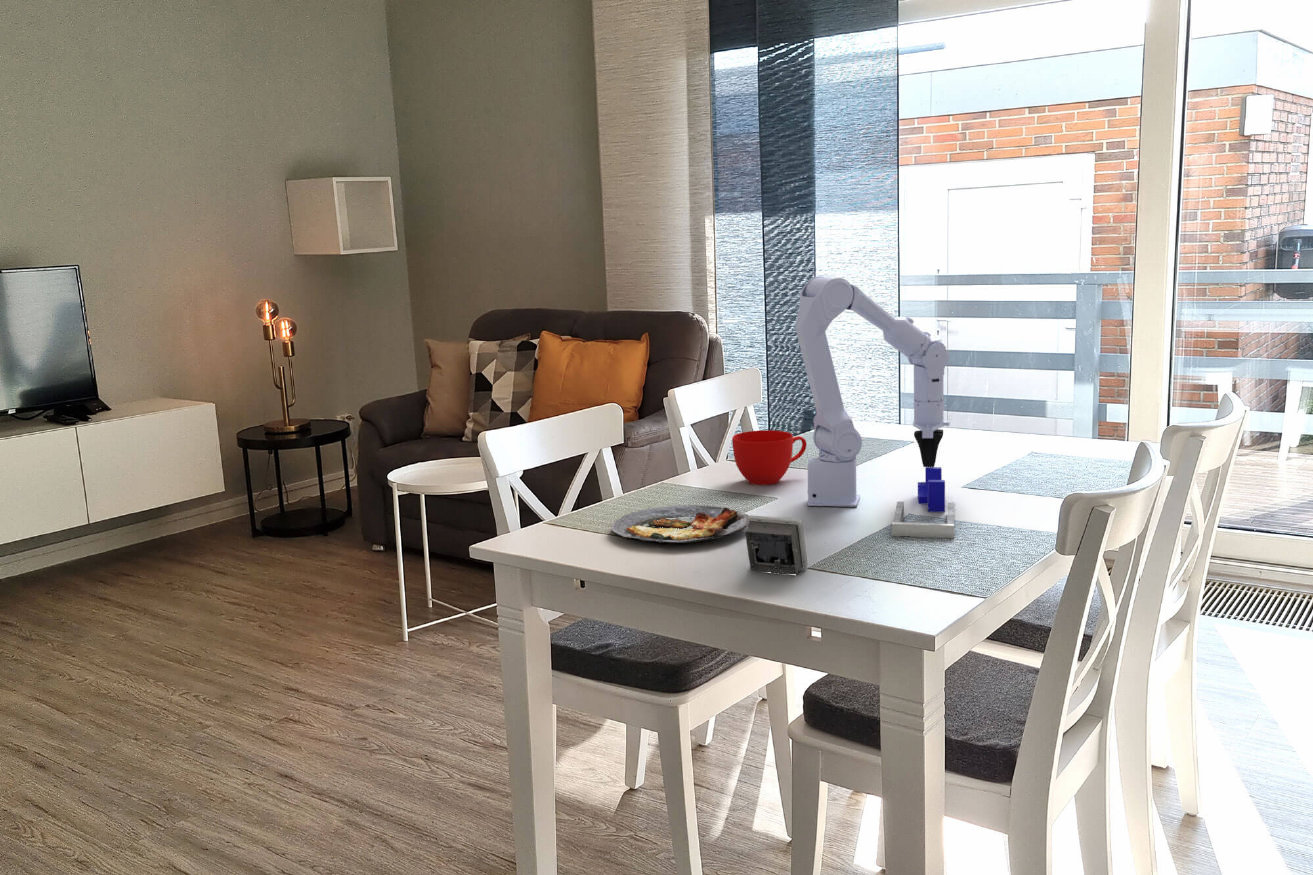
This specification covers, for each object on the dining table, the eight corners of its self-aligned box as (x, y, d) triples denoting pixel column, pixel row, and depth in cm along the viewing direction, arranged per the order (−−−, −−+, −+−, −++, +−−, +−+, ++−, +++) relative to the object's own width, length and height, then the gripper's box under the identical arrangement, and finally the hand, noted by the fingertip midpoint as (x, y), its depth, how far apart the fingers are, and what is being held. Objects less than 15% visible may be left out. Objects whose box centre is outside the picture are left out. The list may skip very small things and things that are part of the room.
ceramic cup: (821, 481, 230) (820, 435, 229) (750, 491, 224) (748, 444, 223) (792, 469, 242) (791, 426, 240) (723, 479, 236) (722, 434, 234)
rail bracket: (892, 536, 189) (892, 524, 188) (897, 512, 203) (897, 501, 203) (953, 538, 186) (954, 525, 186) (954, 514, 200) (954, 502, 200)
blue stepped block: (917, 496, 215) (917, 467, 214) (941, 496, 214) (941, 467, 213) (920, 512, 203) (920, 481, 202) (944, 512, 203) (945, 481, 201)
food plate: (770, 521, 202) (769, 502, 201) (713, 557, 182) (711, 537, 182) (656, 512, 215) (654, 495, 214) (590, 545, 195) (588, 527, 194)
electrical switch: (808, 569, 173) (805, 515, 171) (799, 582, 169) (795, 527, 166) (753, 564, 177) (750, 511, 175) (742, 577, 173) (738, 522, 170)
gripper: (949, 406, 207) (949, 475, 209) (949, 393, 220) (949, 458, 223) (911, 406, 209) (911, 474, 211) (914, 393, 222) (914, 458, 225)
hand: (928, 466), depth 217 cm, fingers closed
